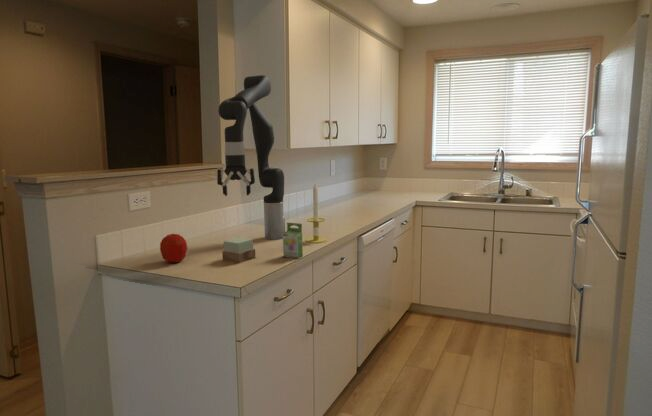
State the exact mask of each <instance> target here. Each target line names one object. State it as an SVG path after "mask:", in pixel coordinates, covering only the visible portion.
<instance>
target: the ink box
mask: <svg viewBox="0 0 652 416" xmlns="http://www.w3.org/2000/svg"><path fill="white" fill-rule="evenodd" d="M302 225H303V224H302V223H297V222H286V230H287V231H286V230H285V232H284V233H283V238H282V248H283V249H282V250H283V251H282V252H283V257H285V258H294V259H300V258H301V257H303V256H304V255H303V254H304V253H303V251H304V250H303V231H302V230H303V227H302ZM291 226H295V227H291Z"/></svg>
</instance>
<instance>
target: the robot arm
mask: <svg viewBox="0 0 652 416" xmlns="http://www.w3.org/2000/svg"><path fill="white" fill-rule="evenodd" d="M271 91H272V83H271V80H270V79H269V77H268V76H267V75H264V74H263V75H262V74H259V75H253V76H246V77H245V78H244V79H243V90H240V91H239V92H237V94H235V95H234V96H232V97H229V98H227V99H225V100H222V101H221V103H220V104H219V106H218V115H219V117H220V118H221V119H222V120H224V121H225V120H226V121H235V122H234V124H233V125H229V126H227V127H225V128H224V157H225V168H224V169H222V168H219V169H218V170H217V176H216V177H217V181H216V182H217V183H216V184H217V185H218V186H221V187H222V195H224V196H225V197H227V196H228V186H227V184H228V183H229V182H230V181H235V180H236V181H241V180H242V182H244V184H245V185H246V196H250V194H251V191H252V190H251V189H252V188H251V186H252V185H254V184H255V183H256V178H255V171H254V168H253V167H252V168H246V152H245V151H246V150H245V143H244V128H245V124H246V123H245V122H246V119H247V114H248V111H249V115H250V121H251V130H252V135H253V140H254V146H255V152H256V160H257V170H258V171H257V173H258V180H259V184H260V186H261V187H262V188H266V189H267V188H270V189H272V190H271V193H268V194H266V195H263V222H264V227H263V228H264V238H265V240H266V239H267V240H279V239H283V233H284V232H286V218H285V215H284V197H285V173H284V171H283V169H281V168H277V167H276V168H275V167H270V166H269V165H270V164H269V155H270V153H271V152H272V151H271V150H272V148H273V146H274V145H275V144H274V143H275V134H274V129H273V125H272V122H271V120H270V119H269V118H268V117H267V116H266V115H265V113H264V112H263V111H262V110H261V108H260V105H259V104H258V101H260V100H261V99H263V98H266V97H267V96H269V95H270V94H271ZM224 173H225V175H226V178H225V180H224V181H223V180H222V179H223V175H224ZM247 173H248V175H249V176H250V181H249V179H248V178H247V176H246V174H247Z"/></svg>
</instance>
